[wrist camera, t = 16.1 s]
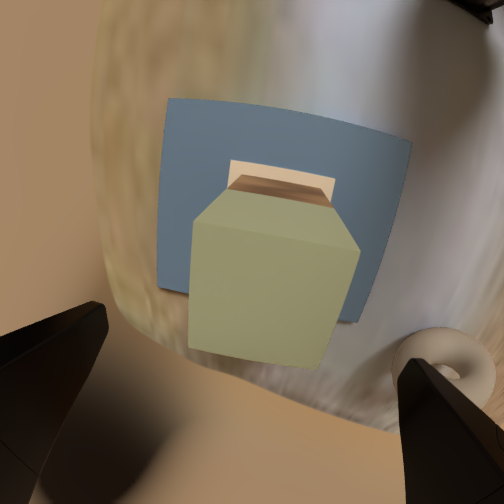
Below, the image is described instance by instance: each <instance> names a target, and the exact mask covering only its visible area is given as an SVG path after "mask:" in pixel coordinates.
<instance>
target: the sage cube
mask: <svg viewBox="0 0 504 504" xmlns="http://www.w3.org/2000/svg"><path fill="white" fill-rule="evenodd" d="M360 253H361V251H360V249H359V247H358V246H357V244H356V242H355V241H354V239H353V237H352V236H351V234H350V233H349V231H348V229H347V228H346V226H345V225H344V223H343V221H342V220H341V218H340V217H339V215H338V214H337V212H336V211H335V209H334V208H330V207H325V206H320V205H315V204H310V203H305V202H300V201H294V200H289V199H284V198H278V197H273V196H267V195H261V194H255V193H249V192H243V191H237V190H230V189H226V190H224V191H223V192H222V193H221V194H220V195H219V196H218V197H217V198H216V199H215V200H214V201H213V202H212V203H211V204H210V205H209V206H208V207H207V208H206V209H205V210H204V211H203V212H202V213H201V214H200V215H199V216H198V217H197V218H196V219H195V220H194V221H193V232H192V246H191V263H190V283H189V309H188V347H189V348H193V349H197V350H201V351H206V352H210V353H215V354H220V355H225V356H230V357H235V358H240V359H246V360H251V361H257V362H263V363H269V364H276V365H283V366H290V367H297V368H305V369H314V370H317V369H318V367H319V364H320V362H321V360H322V357H323V355H324V353H325V350H326V348H327V345H328V343H329V340H330V338H331V335H332V333H333V330H334V328H335V325H336V323H337V320H338V317H339V315H340V312H341V309H342V307H343V304H344V301H345V298H346V296H347V293H348V290H349V287H350V284H351V281H352V278H353V275H354V272H355V269H356V266H357V263H358V260H359V256H360Z"/></svg>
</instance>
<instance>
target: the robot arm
mask: <svg viewBox="0 0 504 504" xmlns="http://www.w3.org/2000/svg"><path fill="white" fill-rule="evenodd" d="M449 1H451V2H452V3H454V4H456V5H458V6H459V7H461V8H463V9H465V10H466V11H468V12H469V13H471V14H473V15H474V16H476V17H477V18H479V19H480V20H482V21H483V22H485V23H486V24H488V25H490V24H493V17H492V10H494V9H496V8H498V7H501V6H503V5H504V0H449ZM108 329H109V325H108V319H107V313H106V308H105V305H104V304H102V303H99V302H96V301H90V302H87V303H85V304H82V305H79V306H77V307H74V308H72V309H69V310H66V311H64V312H62V313H59V314H56V315H54V316H51V317H48V318H46V319H43V320H41V321H38V322H36V323H33V324H31V325H28V326H25V327H23V328H20V329H18V330H15V331H13V332H10V333H8V334H6V335H3V336H0V504H28V503H29V501H30V498H31V496H32V493H33V491H34V488H35V485H36V483H37V481H38V478H39V475H40V473H41V471H42V468H43V466H44V464H45V461H46V459H47V457H48V455H49V453H50V450H51V448H52V446H53V444H54V442H55V440H56V438H57V435H58V433H59V431H60V429H61V427H62V425H63V423H64V421H65V419H66V417H67V415H68V413H69V411H70V409H71V407H72V406H73V404H74V402H75V399H76V398H77V396H78V394H79V392H80V391H81V389H82V387H83V385H84V383H85V381H86V380H87V378H88V376H89V374H90V372H91V370H92V367H93V365H94V363H95V361H96V358H97V356H98V354H99V352H100V349H101V347H102V345H103V343H104V340H105V338H106V336H107V334H108ZM397 392H398V409H399V427H400V436H401V444H402V453H403V463H404V475H405V491H406V504H504V431H503V430H502V429H501V428H500V427H499V426H498V425H497V424H495V422H494V421H493V420H492V419H491V418H490V417H488V416H487V415H486V414H485V413H484V412H483V411H482V410H481V409H480V408H479V407H477V406H476V405H475V404H474V403H473V402H472V401H471V400H470V399H469V398H468V397H466V396H465V395H464V394H463V393H462V392H461V391H460V390H459V389H458V388H456V387H455V386H454V385H453V384H452V383H451V382H450V381H448V380H447V379H446V378H445V377H444V376H443V375H442V374H441V373H439V372H438V371H437V370H436V369H435V368H434V367H432V366H431V365H430V364H429V363H428V362H427V361H426V360H424V359H423V358H411V359H409V360H408V362H407V364H406V365H405V367H404V368H403V370H402V371H401V373H400V375H399V376H398V379H397Z"/></svg>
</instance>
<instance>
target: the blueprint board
mask: <svg viewBox="0 0 504 504" xmlns="http://www.w3.org/2000/svg"><path fill="white" fill-rule="evenodd" d="M411 147H412V142H409V141H407V140H404V139H401V138H398V137H395V136H392V135H389V134H385V133H382V132H379V131H376V130H372V129H369V128H365V127H362V126H358V125H354V124H351V123H347V122H343V121H339V120H335V119H331V118H326V117H322V116H317V115H312V114H308V113H302V112H297V111H292V110H286V109H280V108H274V107H267V106H260V105H253V104H245V103H236V102H226V101H214V100H200V99H177V98H168V105H167V112H166V120H165V129H164V138H163V147H162V158H161V170H160V184H159V202H158V228H157V287H161V288H165V289H170V290H174V291H179V292H183V293H188V294H189V283H190V263H191V246H192V232H193V221H194V220H195V219H196V218H197V217H198V216H199V215H200V214H201V213H202V212H203V211H204V210H205V209H206V208H207V207H208V206H209V205H210V204H211V203H212V202H213V201H214V200H215V199H216V198H217V197H218V196H219V195H220V194H221V193H222V192H223V191H224V190H226V189H227V188H228V187H229V186H230V185H231V184H232V183H233V182H234V181H235V180H236V179H237V178H238V177H239V176H240V175H242V174H243V175H249V176H256V177H262V178H268V179H274V180H279V181H285V182H291V183H296V184H301V185H306V186H311V187H316V188H321V189H322V191H323V192H324V194H325V195H326V197H327V198H328V200H329V201H330V203H331V204H332V206H333V207H334V209H335V211H336V212H337V214H338V215H339V217H340V218H341V220H342V221H343V223H344V225H345V226H346V228H347V229H348V231H349V233H350V234H351V236H352V237H353V239H354V241H355V242H356V244H357V246H358V247H359V249H360V251H361V253H360V256H359V260H358V263H357V266H356V269H355V272H354V275H353V278H352V281H351V284H350V287H349V290H348V293H347V296H346V298H345V301H344V304H343V307H342V309H341V312H340V315H339V317H338V320H341V321H348V322H356V323H358V321H359V318H360V316H361V313H362V311H363V308H364V306H365V303H366V301H367V298H368V296H369V293H370V291H371V288H372V285H373V283H374V280H375V277H376V274H377V271H378V269H379V266H380V263H381V260H382V257H383V254H384V251H385V248H386V245H387V242H388V238H389V235H390V232H391V229H392V225H393V222H394V218H395V215H396V211H397V207H398V204H399V200H400V196H401V192H402V188H403V184H404V180H405V176H406V171H407V167H408V162H409V157H410V152H411Z"/></svg>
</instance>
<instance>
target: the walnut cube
mask: <svg viewBox="0 0 504 504" xmlns="http://www.w3.org/2000/svg"><path fill="white" fill-rule="evenodd" d="M227 189H230V190H237V191H243V192H249V193H255V194H261V195H267V196H273V197H278V198H284V199H289V200H294V201H300V202H305V203H310V204H315V205H320V206H325V207H330V208H334V207H333V206H332V204H331V203H330V201H329V200H328V198H327V197H326V195H325V194H324V192H323V191H322V189H321V188H316V187H311V186H306V185H301V184H296V183H291V182H285V181H279V180H274V179H268V178H262V177H256V176H249V175H243V174H242V175H240V176H239V177H238V178H237V179H236V180H235V181H234V182H233V183H232V184H231V185H230V186H229V187H228V188H227Z"/></svg>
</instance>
